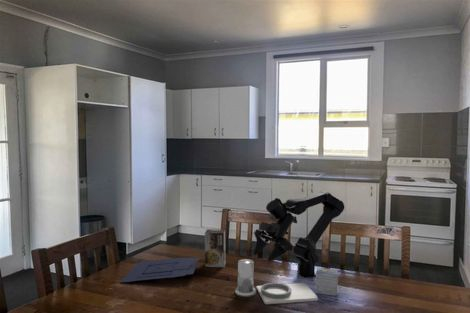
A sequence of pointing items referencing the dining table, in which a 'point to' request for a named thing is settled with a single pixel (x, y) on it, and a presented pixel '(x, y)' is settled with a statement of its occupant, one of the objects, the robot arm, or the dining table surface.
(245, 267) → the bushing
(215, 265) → the coffee box
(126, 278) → the papers
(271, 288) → the locating plate
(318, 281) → the medicine box
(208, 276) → the dining table surface
